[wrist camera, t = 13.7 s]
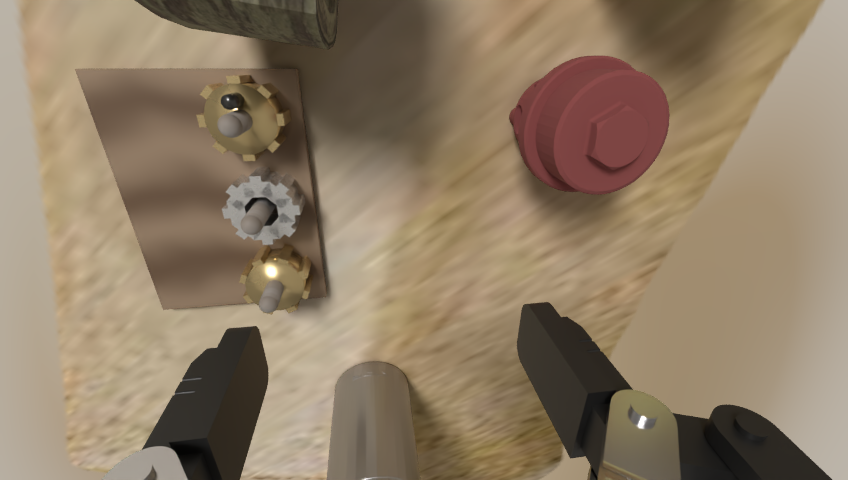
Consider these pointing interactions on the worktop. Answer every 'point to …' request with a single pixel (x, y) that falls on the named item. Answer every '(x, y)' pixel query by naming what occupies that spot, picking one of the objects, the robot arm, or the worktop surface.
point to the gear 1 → (255, 102)
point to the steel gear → (276, 191)
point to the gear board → (198, 180)
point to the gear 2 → (278, 276)
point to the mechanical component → (591, 125)
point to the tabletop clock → (256, 18)
